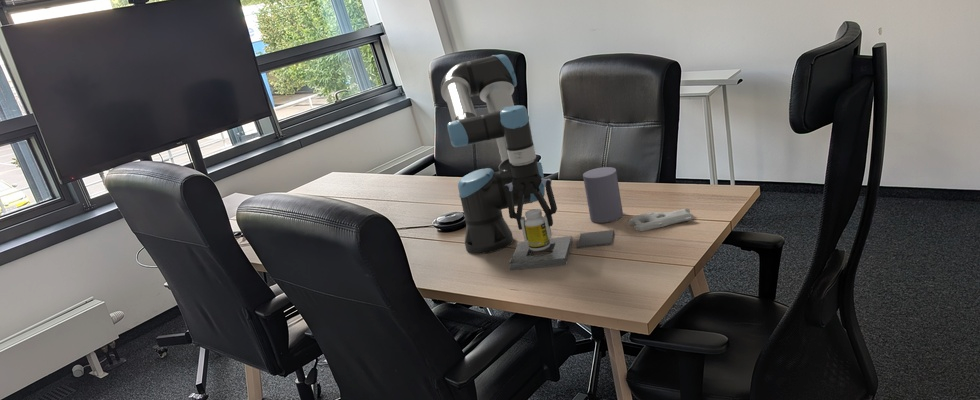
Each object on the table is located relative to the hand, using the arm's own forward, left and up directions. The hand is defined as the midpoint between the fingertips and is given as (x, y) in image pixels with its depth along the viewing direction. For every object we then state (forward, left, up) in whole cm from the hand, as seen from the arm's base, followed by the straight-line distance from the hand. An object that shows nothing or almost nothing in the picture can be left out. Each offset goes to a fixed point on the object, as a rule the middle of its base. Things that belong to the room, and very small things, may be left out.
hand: (538, 237), depth 215 cm
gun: (+34, +16, -6) cm, 38 cm away
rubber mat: (+15, +8, -6) cm, 18 cm away
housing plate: (0, 0, -6) cm, 6 cm away
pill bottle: (0, 0, -3) cm, 3 cm away
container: (+17, +26, -6) cm, 32 cm away
